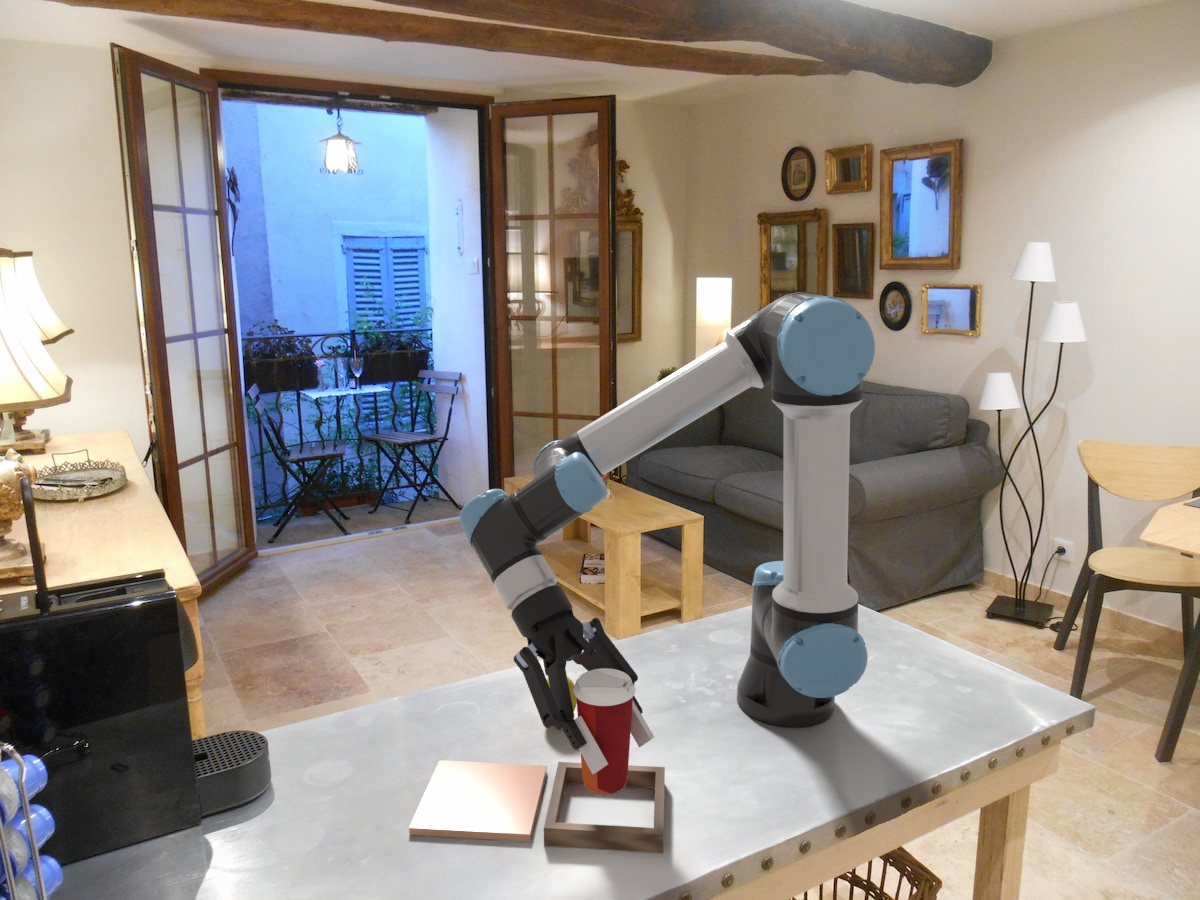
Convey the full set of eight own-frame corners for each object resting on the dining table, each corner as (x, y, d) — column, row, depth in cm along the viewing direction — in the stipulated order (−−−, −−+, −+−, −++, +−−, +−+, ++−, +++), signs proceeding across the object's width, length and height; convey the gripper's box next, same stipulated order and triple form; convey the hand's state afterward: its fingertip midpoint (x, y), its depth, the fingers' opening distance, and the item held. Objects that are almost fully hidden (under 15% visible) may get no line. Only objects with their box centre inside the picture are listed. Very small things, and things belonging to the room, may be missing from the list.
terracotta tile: (546, 772, 127) (546, 765, 127) (530, 841, 113) (529, 834, 112) (439, 766, 128) (439, 760, 128) (409, 834, 114) (409, 827, 114)
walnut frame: (664, 783, 125) (664, 767, 124) (663, 853, 111) (663, 834, 110) (558, 778, 126) (558, 761, 125) (543, 846, 112) (543, 828, 111)
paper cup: (642, 770, 120) (643, 671, 116) (624, 804, 112) (624, 700, 109) (585, 759, 122) (584, 662, 119) (564, 792, 115) (562, 689, 112)
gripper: (576, 590, 131) (662, 735, 123) (459, 634, 116) (548, 801, 109) (603, 563, 126) (694, 713, 118) (484, 607, 112) (579, 779, 104)
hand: (624, 755), depth 114 cm, fingers closed on paper cup, 8 cm apart
